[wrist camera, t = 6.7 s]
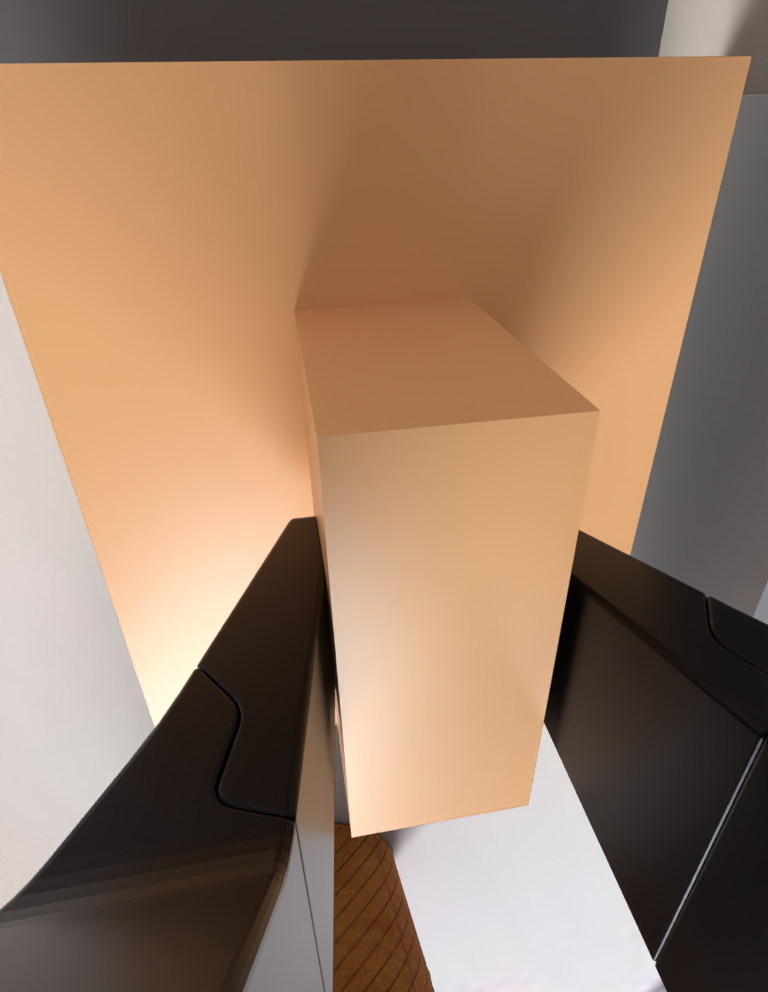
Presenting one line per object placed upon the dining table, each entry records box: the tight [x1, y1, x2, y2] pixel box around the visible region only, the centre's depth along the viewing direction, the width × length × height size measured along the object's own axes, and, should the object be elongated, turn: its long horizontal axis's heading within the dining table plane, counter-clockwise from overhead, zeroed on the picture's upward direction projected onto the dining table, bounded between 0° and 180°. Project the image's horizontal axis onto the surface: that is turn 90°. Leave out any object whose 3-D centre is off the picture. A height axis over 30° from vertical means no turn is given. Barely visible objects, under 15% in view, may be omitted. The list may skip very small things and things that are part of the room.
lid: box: [0, 56, 752, 838], centre depth 9 cm, size 10×12×6 cm
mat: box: [0, 0, 668, 64], centre depth 13 cm, size 11×14×1 cm
